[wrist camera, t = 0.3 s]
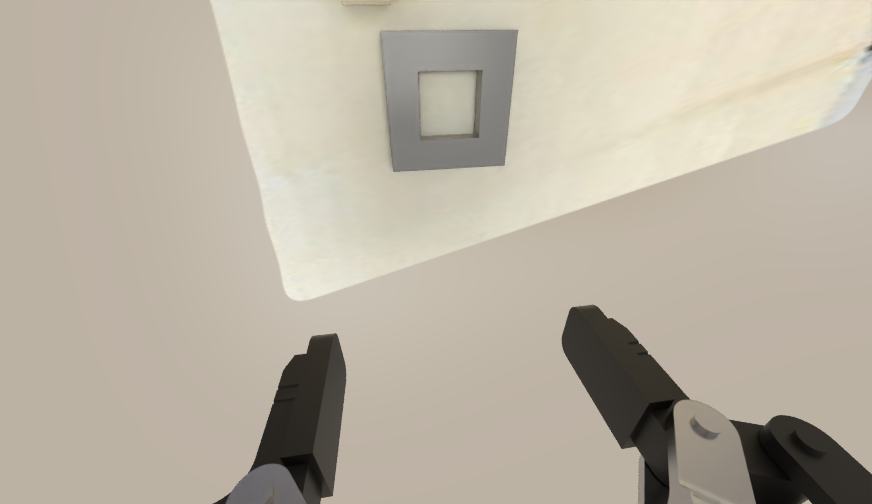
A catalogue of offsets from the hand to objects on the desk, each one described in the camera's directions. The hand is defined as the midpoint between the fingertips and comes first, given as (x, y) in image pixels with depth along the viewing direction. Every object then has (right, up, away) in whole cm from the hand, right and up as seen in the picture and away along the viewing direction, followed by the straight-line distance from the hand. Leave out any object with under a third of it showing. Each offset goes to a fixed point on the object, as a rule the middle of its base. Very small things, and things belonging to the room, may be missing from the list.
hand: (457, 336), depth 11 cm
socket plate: (0, +18, +21) cm, 28 cm away
